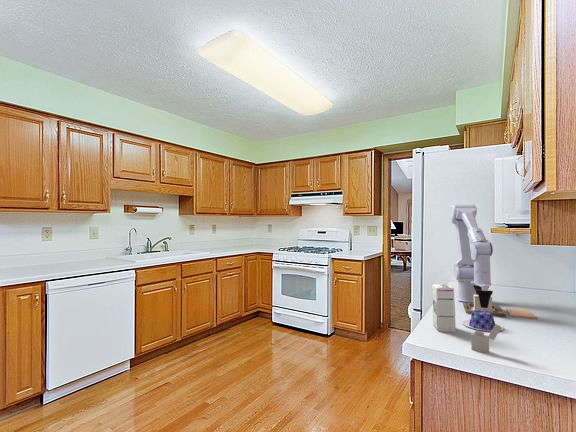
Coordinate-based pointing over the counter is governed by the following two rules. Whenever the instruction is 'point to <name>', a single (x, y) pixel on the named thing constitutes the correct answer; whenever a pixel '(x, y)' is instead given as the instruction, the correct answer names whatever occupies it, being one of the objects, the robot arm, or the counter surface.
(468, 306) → the wooden picture frame
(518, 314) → the peach rectangular tile
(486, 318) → the pudding
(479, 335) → the lighter
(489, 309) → the cream upright block
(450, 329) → the white segmented tower
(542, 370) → the counter surface
